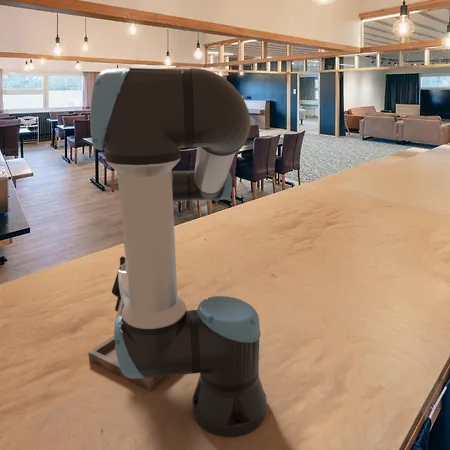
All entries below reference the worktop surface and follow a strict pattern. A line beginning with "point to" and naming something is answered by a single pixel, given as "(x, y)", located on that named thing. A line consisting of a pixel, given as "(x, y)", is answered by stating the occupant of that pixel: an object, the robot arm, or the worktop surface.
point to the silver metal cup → (123, 283)
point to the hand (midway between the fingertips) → (130, 327)
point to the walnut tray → (108, 360)
